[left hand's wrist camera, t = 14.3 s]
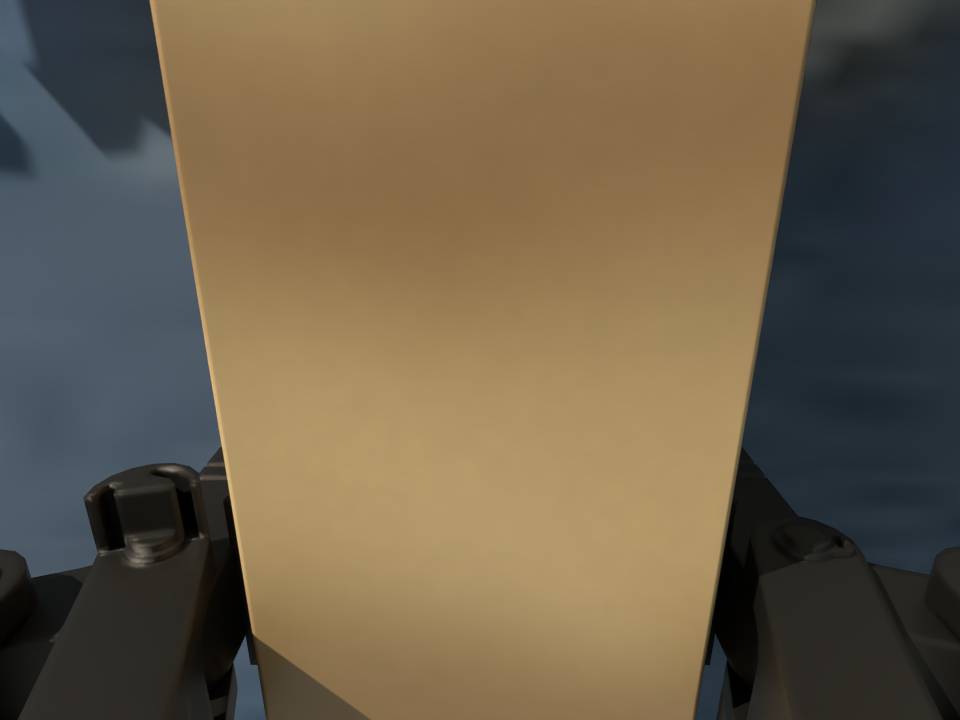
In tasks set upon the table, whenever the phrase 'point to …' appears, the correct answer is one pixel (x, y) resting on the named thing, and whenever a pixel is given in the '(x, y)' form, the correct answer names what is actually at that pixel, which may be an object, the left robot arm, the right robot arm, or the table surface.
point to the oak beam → (482, 333)
